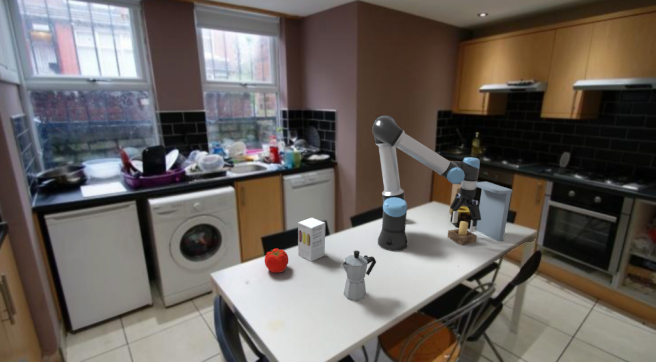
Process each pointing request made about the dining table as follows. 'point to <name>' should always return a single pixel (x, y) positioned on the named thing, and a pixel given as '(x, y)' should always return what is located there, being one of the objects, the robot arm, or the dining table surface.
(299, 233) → the supplement box
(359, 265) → the coffee maker
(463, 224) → the peg
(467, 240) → the socket block
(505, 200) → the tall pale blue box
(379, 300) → the dining table surface
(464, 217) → the yellow black tissue box
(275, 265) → the tomato
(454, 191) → the wooden block
